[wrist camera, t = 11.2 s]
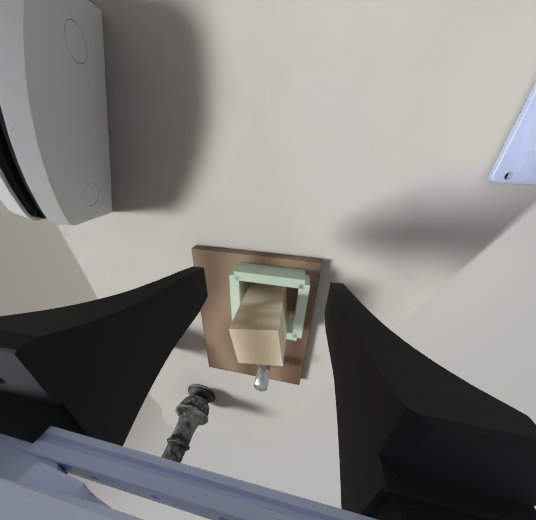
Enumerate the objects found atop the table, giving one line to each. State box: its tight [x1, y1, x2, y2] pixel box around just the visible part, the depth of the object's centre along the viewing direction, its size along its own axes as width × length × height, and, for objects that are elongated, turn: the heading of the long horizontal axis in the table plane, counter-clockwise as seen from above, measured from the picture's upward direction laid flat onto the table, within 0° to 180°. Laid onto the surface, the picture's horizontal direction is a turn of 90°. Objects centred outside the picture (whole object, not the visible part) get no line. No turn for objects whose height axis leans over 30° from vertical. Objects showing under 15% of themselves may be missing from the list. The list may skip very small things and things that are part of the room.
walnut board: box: [192, 245, 322, 385], centre depth 25 cm, size 14×20×1 cm
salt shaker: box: [161, 384, 215, 463], centre depth 30 cm, size 6×6×12 cm
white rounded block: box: [0, 0, 113, 225], centre depth 15 cm, size 17×5×10 cm, turn 160°
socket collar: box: [229, 262, 310, 341], centre depth 21 cm, size 8×8×2 cm
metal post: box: [254, 364, 278, 391], centre depth 24 cm, size 4×4×4 cm
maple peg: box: [229, 282, 289, 366], centre depth 19 cm, size 4×4×7 cm
